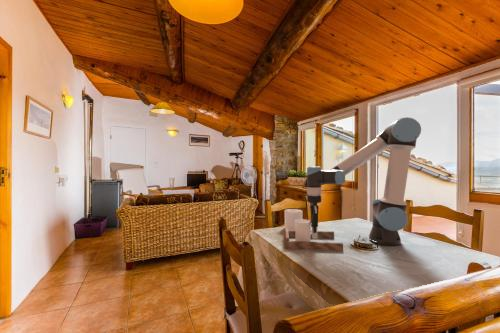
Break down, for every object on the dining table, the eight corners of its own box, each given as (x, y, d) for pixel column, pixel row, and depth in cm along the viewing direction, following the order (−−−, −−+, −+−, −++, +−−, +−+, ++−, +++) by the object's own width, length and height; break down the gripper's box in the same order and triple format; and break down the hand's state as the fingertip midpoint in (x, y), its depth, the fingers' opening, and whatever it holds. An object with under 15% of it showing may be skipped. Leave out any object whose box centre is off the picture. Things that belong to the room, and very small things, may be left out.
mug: (308, 238, 136) (308, 217, 136) (319, 242, 129) (318, 220, 128) (291, 241, 131) (291, 220, 131) (301, 246, 123) (301, 223, 123)
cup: (284, 230, 152) (284, 212, 152) (284, 226, 164) (284, 208, 163) (303, 231, 150) (303, 212, 150) (302, 226, 162) (302, 209, 161)
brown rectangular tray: (333, 237, 138) (333, 228, 138) (343, 250, 117) (343, 240, 117) (284, 235, 141) (284, 227, 141) (285, 248, 120) (285, 238, 120)
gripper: (305, 193, 136) (306, 234, 136) (308, 196, 122) (309, 242, 123) (319, 193, 135) (319, 234, 135) (323, 196, 122) (323, 242, 122)
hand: (314, 238), depth 129 cm, fingers closed
